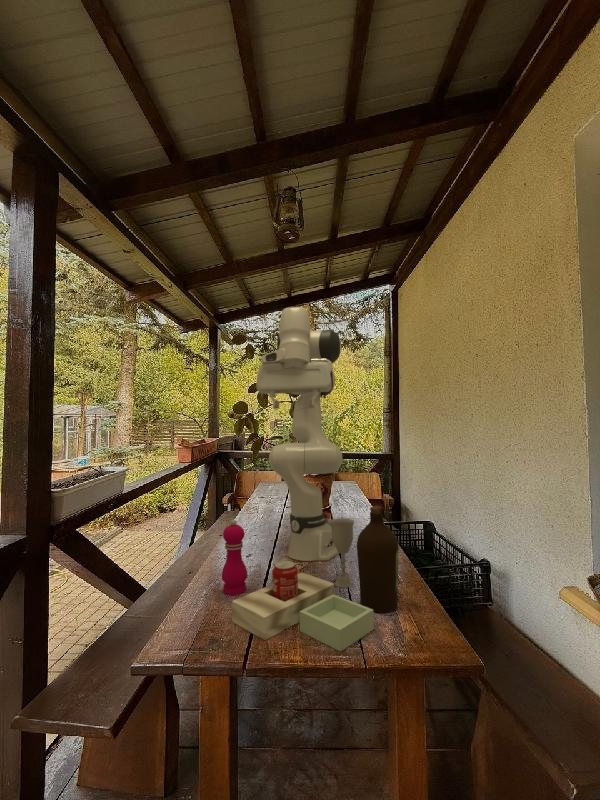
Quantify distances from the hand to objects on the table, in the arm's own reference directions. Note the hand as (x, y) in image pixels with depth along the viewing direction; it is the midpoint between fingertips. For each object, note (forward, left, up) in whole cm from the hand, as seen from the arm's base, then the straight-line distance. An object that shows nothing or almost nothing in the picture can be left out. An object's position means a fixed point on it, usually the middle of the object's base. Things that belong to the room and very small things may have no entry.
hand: (293, 407), depth 111 cm
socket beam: (+5, +1, -51) cm, 52 cm away
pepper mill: (+6, -19, -52) cm, 55 cm away
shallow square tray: (+3, +16, -51) cm, 54 cm away
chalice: (-18, +1, -52) cm, 55 cm away
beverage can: (+5, +1, -52) cm, 52 cm away
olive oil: (-14, +16, -52) cm, 56 cm away
